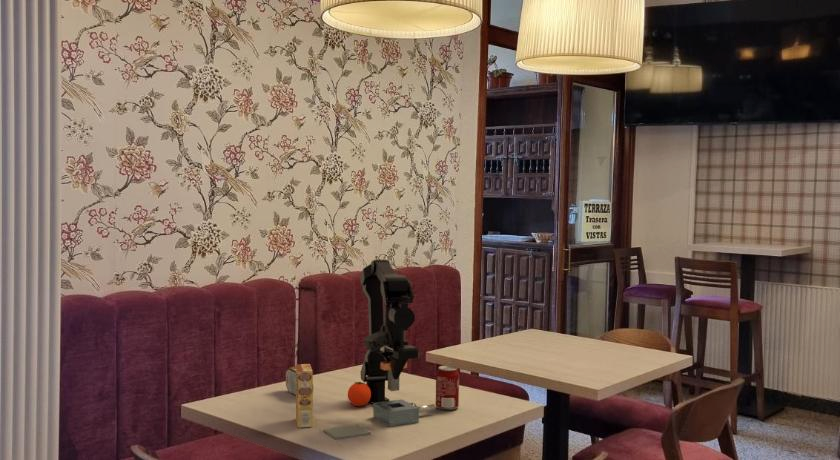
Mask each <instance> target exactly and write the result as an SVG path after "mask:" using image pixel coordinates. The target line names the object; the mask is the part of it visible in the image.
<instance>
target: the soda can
mask: <svg viewBox="0 0 840 460" xmlns="http://www.w3.org/2000/svg"><path fill="white" fill-rule="evenodd" d="M459 394H460V373H459V371H458V367H456V366H453V365H440V366H438V370H437V371H436V374H435V408H438V410H442V411H453V410H456V409H458V408H459V403H460V401H459V398H460V397H459V396H460V395H459Z"/></svg>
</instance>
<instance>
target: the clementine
mask: <svg viewBox="0 0 840 460" xmlns="http://www.w3.org/2000/svg"><path fill="white" fill-rule="evenodd" d="M370 398H371V390H370V388H369V387H368V385H366V382H363V381H355V382H354V383H353V384H351V385H350V387H349V388H348V391H347V399H348V401H349V402H350V404H352V405H353V406H356V407H362V406H366V405H367V404H368V403H369V400H370Z"/></svg>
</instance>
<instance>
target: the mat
mask: <svg viewBox="0 0 840 460" xmlns="http://www.w3.org/2000/svg"><path fill="white" fill-rule="evenodd" d="M323 432H324V433H326V434H327V435H328V436H330V437H331V438H333V439H334V440H341V439H347V438H353V437H361V436H367V435H372V432H371V431H370V430H368V429H366V428H365V427H364V426H361V425H360V424H358V423H357V424H349V425H344V426H337V427H336V426H335V427H329V428H323Z"/></svg>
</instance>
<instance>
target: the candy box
mask: <svg viewBox="0 0 840 460" xmlns="http://www.w3.org/2000/svg"><path fill="white" fill-rule="evenodd" d="M295 366H296V396H295V419H296V424H297V428H312V427H313V426H314V425H313V423H314V419H313V417H314V416H313V415H314V409H313V408H314V405H313V404H314V403H313V402H314V396H313V395H314V379H313V378H314V373H313V367H312V366H311V364H310V363H303V364H302V363H301V364H300V363H299V364H298V363H297V364H295Z"/></svg>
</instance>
